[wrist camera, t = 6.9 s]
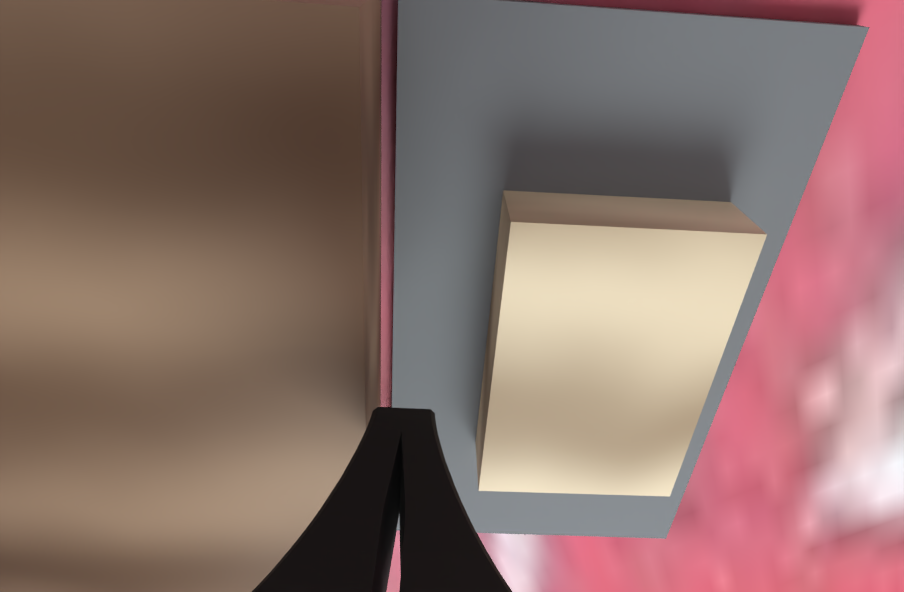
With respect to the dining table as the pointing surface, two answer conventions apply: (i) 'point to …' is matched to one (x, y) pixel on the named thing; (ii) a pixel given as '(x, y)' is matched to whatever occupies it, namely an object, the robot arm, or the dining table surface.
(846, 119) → the dining table surface
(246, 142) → the brown shallow box
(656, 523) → the mat
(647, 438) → the tile
